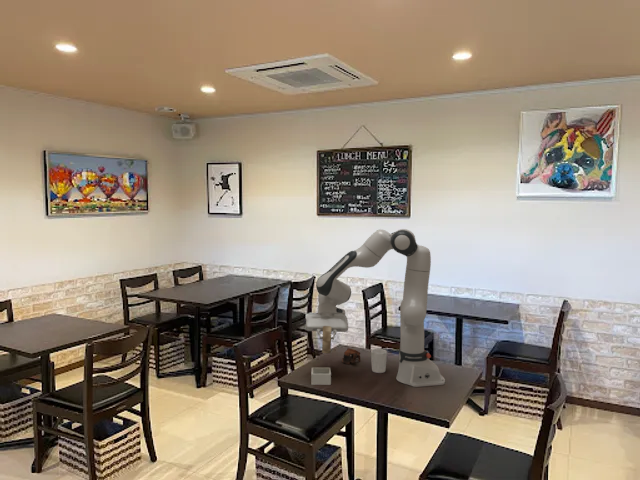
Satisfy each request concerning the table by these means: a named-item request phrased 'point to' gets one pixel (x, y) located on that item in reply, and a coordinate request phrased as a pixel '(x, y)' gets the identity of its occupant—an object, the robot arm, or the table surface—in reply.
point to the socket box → (320, 376)
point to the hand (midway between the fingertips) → (326, 338)
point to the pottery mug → (349, 358)
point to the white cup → (378, 360)
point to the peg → (326, 340)
